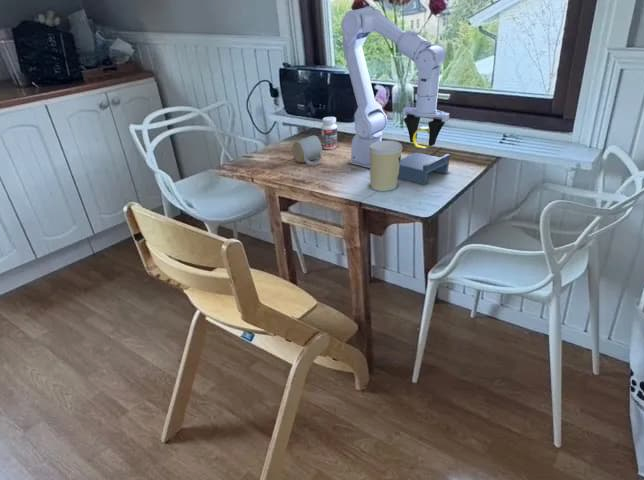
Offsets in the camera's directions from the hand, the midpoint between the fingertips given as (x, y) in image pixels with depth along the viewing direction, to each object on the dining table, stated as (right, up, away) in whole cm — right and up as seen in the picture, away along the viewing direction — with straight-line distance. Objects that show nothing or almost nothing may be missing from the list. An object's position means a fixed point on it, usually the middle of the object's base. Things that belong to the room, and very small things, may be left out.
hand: (422, 143), depth 155 cm
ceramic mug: (-31, +3, +24) cm, 39 cm away
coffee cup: (-12, -13, +1) cm, 17 cm away
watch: (0, -1, +1) cm, 2 cm away
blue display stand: (+1, -8, +5) cm, 9 cm away
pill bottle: (-23, +12, +34) cm, 43 cm away
